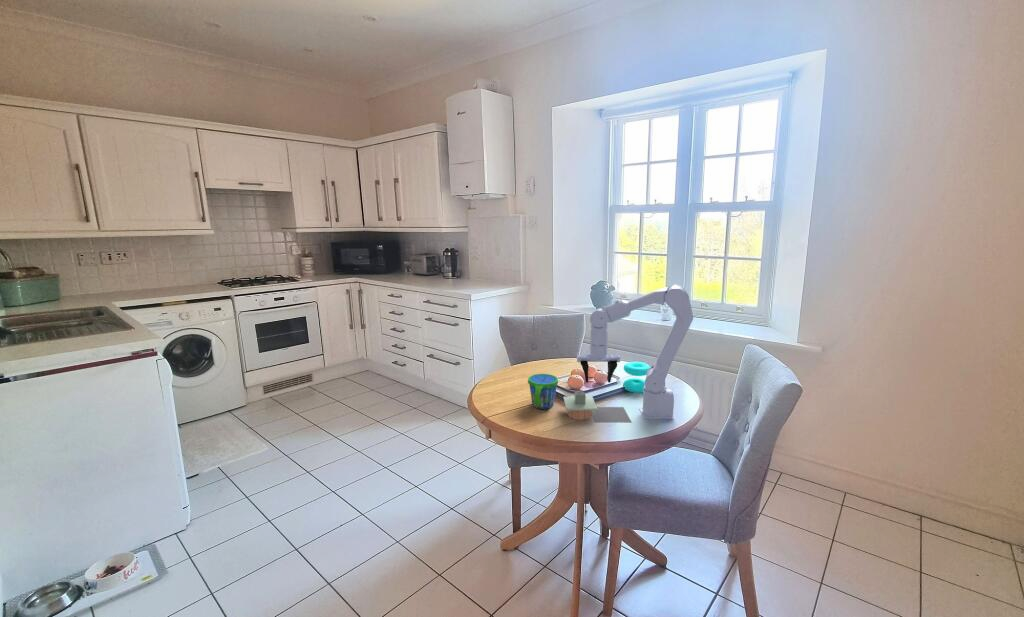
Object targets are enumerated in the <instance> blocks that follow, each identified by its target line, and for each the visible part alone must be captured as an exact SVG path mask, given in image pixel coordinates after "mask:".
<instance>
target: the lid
mask: <svg viewBox="0 0 1024 617" xmlns="http://www.w3.org/2000/svg"><path fill="white" fill-rule="evenodd" d="M563 402H564V406H565V407H564V408H565V410H566V411H567V410H597V407H598V406H597V404H596V402H595V399H594V397H593V396H586V393H585V391H574V396H563Z"/></svg>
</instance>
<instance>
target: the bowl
mask: <svg viewBox="0 0 1024 617" xmlns="http://www.w3.org/2000/svg"><path fill="white" fill-rule="evenodd" d="M566 411H567V416H568V417H569V418H571V419H574V420H580V421H582V420H588V419H590V418H591V417H592V410H566Z"/></svg>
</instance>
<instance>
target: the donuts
mask: <svg viewBox="0 0 1024 617" xmlns="http://www.w3.org/2000/svg"><path fill="white" fill-rule="evenodd" d="M650 367H651V366H650V365H649V364H647V363H645V362H641V361H629V362H626V363H625V364H624V366H623V370H624V371H625V373H626V374H628V375H630V376H634V377H632V378H626V379H625V380H624V381H623V383H622V384H623V385H624V386H625V388H624V390H626V391H627V392H629V393H630V392H631V393H636V394H637V393H638V394H641V393H643V392H644V386H645V379H642V378H640V377H643V376H646V373H647V370H648V369H649V368H650ZM638 377H639V378H638ZM623 385H622V386H623Z"/></svg>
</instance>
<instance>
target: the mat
mask: <svg viewBox="0 0 1024 617" xmlns="http://www.w3.org/2000/svg"><path fill="white" fill-rule="evenodd" d="M591 417H592V420H593V422H594V423H633V422H632V420H631V418H630V417H629V415H628V413H627V411H626V409H625V407H624V406H611V407H610V406H597V410H592V416H591Z"/></svg>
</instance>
